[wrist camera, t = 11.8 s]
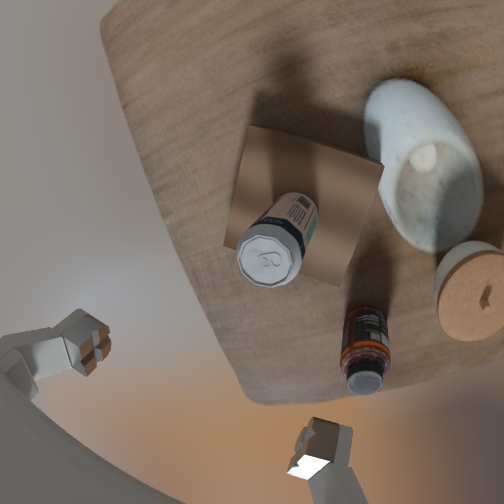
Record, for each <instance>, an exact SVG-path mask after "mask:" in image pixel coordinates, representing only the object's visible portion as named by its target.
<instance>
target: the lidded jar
mask: <svg viewBox="0 0 504 504" xmlns="http://www.w3.org/2000/svg"><path fill="white" fill-rule="evenodd" d="M434 300H435V305H436V309H437V314H438V318H439V321H440V324H441V326H442V327H443V329H444V330H445V332H446V333H447V334H448V335H450V336H451V337H453V338H455V339H458V340H462V341H476V340H480V339H483V338H486V337H488V336H490V335H492V334H494V333H495V332H496V331H498V330H499V329H500V328H501V327H503V326H504V253H503V252H502V251H501V250H499V249H498V248H496V247H495V246H493V245H491V244H489V243H486V242H483V241H467V242H463V243H461V244H459V245H457V246H455V247H454V248H452V249H451V250H450V251H449V252H448V253H447V254H446V255H445V256H444V257H443V259H442V260H441V262H440V264H439V266H438V268H437V271H436V274H435V278H434Z"/></svg>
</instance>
